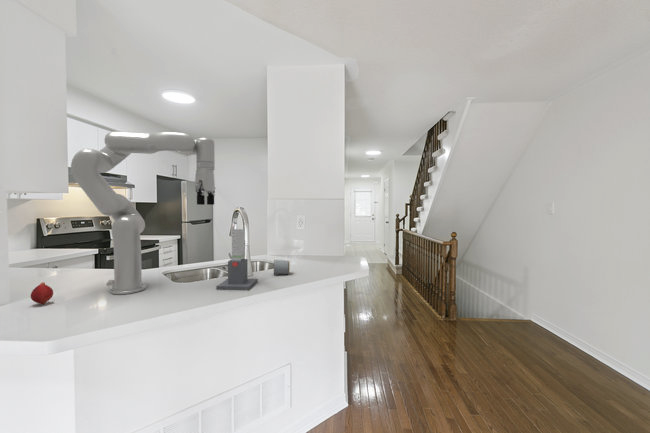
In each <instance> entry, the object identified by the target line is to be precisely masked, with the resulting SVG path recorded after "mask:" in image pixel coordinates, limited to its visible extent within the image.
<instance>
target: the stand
mask: <svg viewBox="0 0 650 433" xmlns="http://www.w3.org/2000/svg"><path fill="white" fill-rule="evenodd" d="M248 271H249V270H248V258H244V260H243V261H232V259H230V260H228V261H227V278H226V279H225V280H224V281H222V282H220V283H219V284H217V285H216V287H215V290H217V291H220V290H221V291H250V290H251V289H252V288H253V287H254V286H255V285H256V284H257V283H258V280H259V279H258V278H249V277H248V274H249V273H248Z"/></svg>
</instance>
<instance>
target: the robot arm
mask: <svg viewBox="0 0 650 433" xmlns="http://www.w3.org/2000/svg"><path fill="white" fill-rule="evenodd" d="M104 144H105V146H103V148H101V149H100V150H97V149H93V148H83V149H81V150H79V151H78V152H76V153H75V154H74V156H73V158H72V160H71V163H70V171H71V174H72V176H73V179H74V180H75V181H76V183H77V184H78V186H79V187H80V188H81V190H82V191H83V192H84V193H85V194H86V196H87V197H88V199H89V200H90V202H92V204H93V205H94V206H95V207H96V209H97V211H99V213H101V215H104V216H108V217H111V218H112V219H113V220H114V221H113V222H112V225H111V235H112V241H113V242H112V243H113V270H114V271H113V273H114V275H113V277H114V279H109V280H108V281H107V282H106V286H109V287H110V286H111V288H110V289H109V293H110V294H113V295H127V294H134V293H139V292H142V291H144V290H146V289H147V285H146V284H145V283H142V279H143V277H142V274H143V273H142V243H141V242H142V241H141V233H143V231H144V230H145V228H146V222H145V220H144V218H143V217H142V215H141V214H140V213H139V211H138V210H137V209H136V208H135V206H134V205H133V203H131V201H130V199H128V198H127V197H126V196H125V195H123V194H120V193H117V192H116V191H115V190H114V189H113V188H112V186H111V185H110V184H109V183H108V181H107V180H106V179H105V178H104V177H103V176H102V174H104V173H107V172H109V171H111V170H113V169H114V168H115V167H116V166H118V165H119V164H120V163H121V162H123V161H124V160H126V159H127V157H129V156H130V155H131V154H147V155H152V154H156V153H158V152H162V151H163V152H164V151H168V152H169V151H173V152H174V151H176V152H180V153H181V154H183V155H187V156H193V155H196V156H195V157H196V159H195V160H196V165H195V166H196V170H195V178H194V179H195V180H194V189H195V193H196V194H195V195H196V205H198V206H199V205H203V206H204V205H205V199H206V205H210V206H211V205H212V206H213V205H215V195H216V194H215V193H216V186H215V184H216V183H215V174H214V171H215V141H214V139H212V138H209V137H198V138H197V139H194V137H193V136H191V135H190V134H188V133H184V132H174V131H173V132H172V131H171V132H170V131H164V132H163V131H161V132H159V131H158V132H135V131H133V132H132V131H116V130H115V131H114V130H113V131H110V132H107V134H106V135H105V136H104ZM205 192H206V194H207V196H205ZM205 197H206V198H205Z"/></svg>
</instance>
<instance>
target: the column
mask: <svg viewBox="0 0 650 433" xmlns="http://www.w3.org/2000/svg"><path fill="white" fill-rule="evenodd" d="M244 231H245V230H244V228H240V229H239V228H238V229H237V228H236V229H232V230H231V260H232V261H243V260H244V259H245V246H244V245H245V240H244V237H245V236H244V235H245V232H244Z"/></svg>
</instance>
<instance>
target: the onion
mask: <svg viewBox="0 0 650 433" xmlns="http://www.w3.org/2000/svg"><path fill="white" fill-rule="evenodd" d="M53 297H54V290H53V288H52V287H50V286H49V285H47V284H46V283H45V282H43V281H42V282H41V283H39V285H37V286H36V287H35V288H33V289H32V291H31V293H30V299H31V300H32V301H33V302H34V303H36V304H39V305H45V304H47V302H48V301H50V300H51V299H52V298H53Z"/></svg>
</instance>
